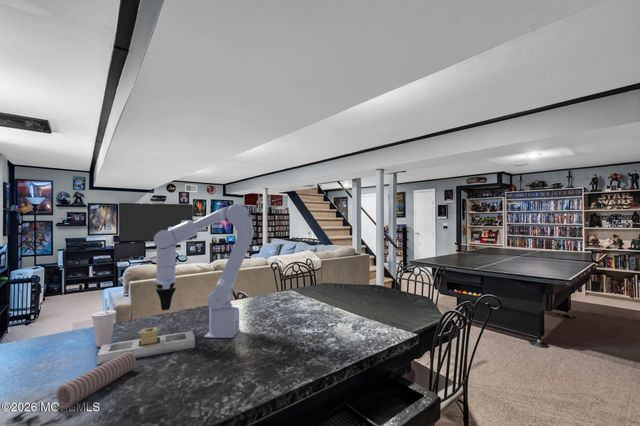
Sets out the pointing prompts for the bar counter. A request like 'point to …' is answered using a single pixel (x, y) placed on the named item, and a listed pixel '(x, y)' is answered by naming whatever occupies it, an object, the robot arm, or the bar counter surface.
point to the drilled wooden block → (149, 336)
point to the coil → (94, 380)
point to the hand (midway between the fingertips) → (165, 307)
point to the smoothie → (103, 325)
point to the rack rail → (147, 346)
